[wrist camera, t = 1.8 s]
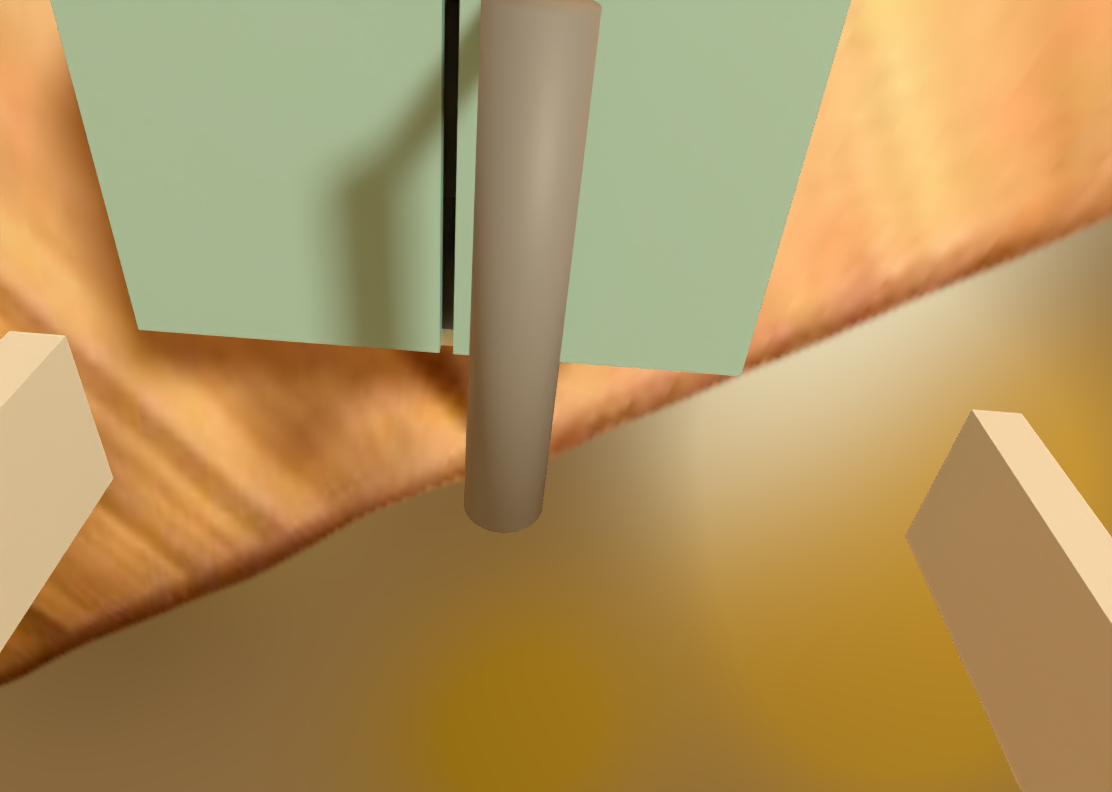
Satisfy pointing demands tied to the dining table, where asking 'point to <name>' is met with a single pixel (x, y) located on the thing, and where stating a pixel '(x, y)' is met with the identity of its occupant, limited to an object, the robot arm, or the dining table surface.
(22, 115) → the dining table surface
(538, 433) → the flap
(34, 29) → the dining table surface
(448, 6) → the carton
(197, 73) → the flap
